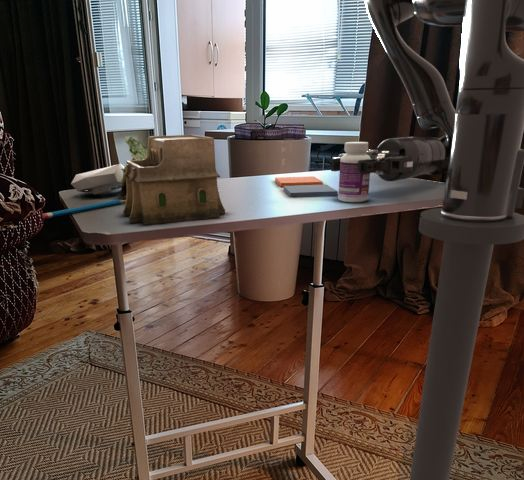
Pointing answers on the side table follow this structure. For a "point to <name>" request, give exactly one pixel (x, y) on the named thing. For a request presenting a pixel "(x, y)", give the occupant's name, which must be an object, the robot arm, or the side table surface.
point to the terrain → (136, 148)
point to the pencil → (82, 209)
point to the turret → (99, 180)
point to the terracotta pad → (298, 181)
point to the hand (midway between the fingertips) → (345, 166)
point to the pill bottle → (353, 173)
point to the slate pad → (310, 190)
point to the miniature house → (173, 181)
